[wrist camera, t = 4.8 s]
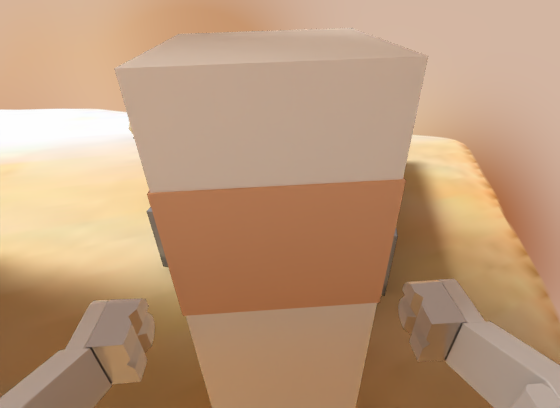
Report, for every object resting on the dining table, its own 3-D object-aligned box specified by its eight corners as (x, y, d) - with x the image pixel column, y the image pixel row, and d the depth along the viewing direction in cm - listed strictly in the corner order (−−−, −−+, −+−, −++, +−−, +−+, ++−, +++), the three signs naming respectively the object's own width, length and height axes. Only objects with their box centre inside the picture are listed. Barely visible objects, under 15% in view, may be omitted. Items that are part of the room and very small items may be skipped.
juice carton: (224, 455, 14) (110, 69, 6) (231, 341, 19) (177, 33, 10) (349, 444, 14) (432, 56, 6) (326, 334, 19) (353, 27, 10)
